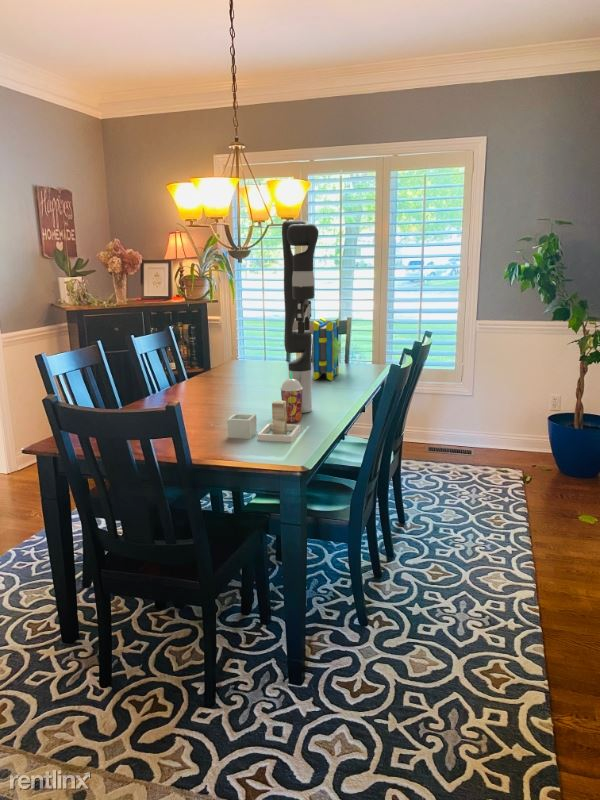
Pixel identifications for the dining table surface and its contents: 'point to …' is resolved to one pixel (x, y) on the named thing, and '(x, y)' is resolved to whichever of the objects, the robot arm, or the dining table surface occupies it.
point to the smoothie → (292, 399)
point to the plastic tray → (274, 437)
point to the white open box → (242, 426)
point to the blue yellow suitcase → (326, 348)
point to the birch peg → (279, 417)
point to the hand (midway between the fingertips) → (303, 331)
